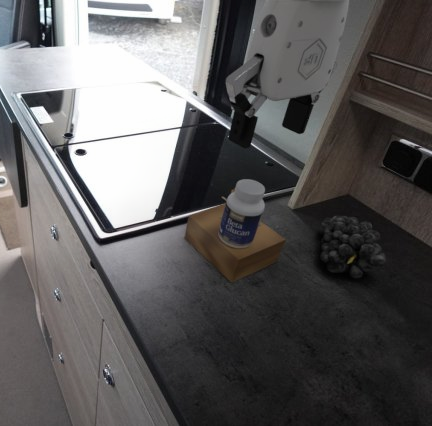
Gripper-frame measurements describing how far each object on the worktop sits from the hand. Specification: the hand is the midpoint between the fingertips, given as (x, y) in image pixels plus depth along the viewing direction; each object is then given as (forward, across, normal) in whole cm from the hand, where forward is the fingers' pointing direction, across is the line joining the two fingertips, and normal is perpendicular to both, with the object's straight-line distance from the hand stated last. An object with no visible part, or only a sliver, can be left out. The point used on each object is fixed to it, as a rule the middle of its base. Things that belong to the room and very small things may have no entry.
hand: (266, 136), depth 48 cm
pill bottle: (+18, 0, 0) cm, 18 cm away
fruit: (+23, +18, -7) cm, 30 cm away
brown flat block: (+22, +4, +4) cm, 23 cm away
